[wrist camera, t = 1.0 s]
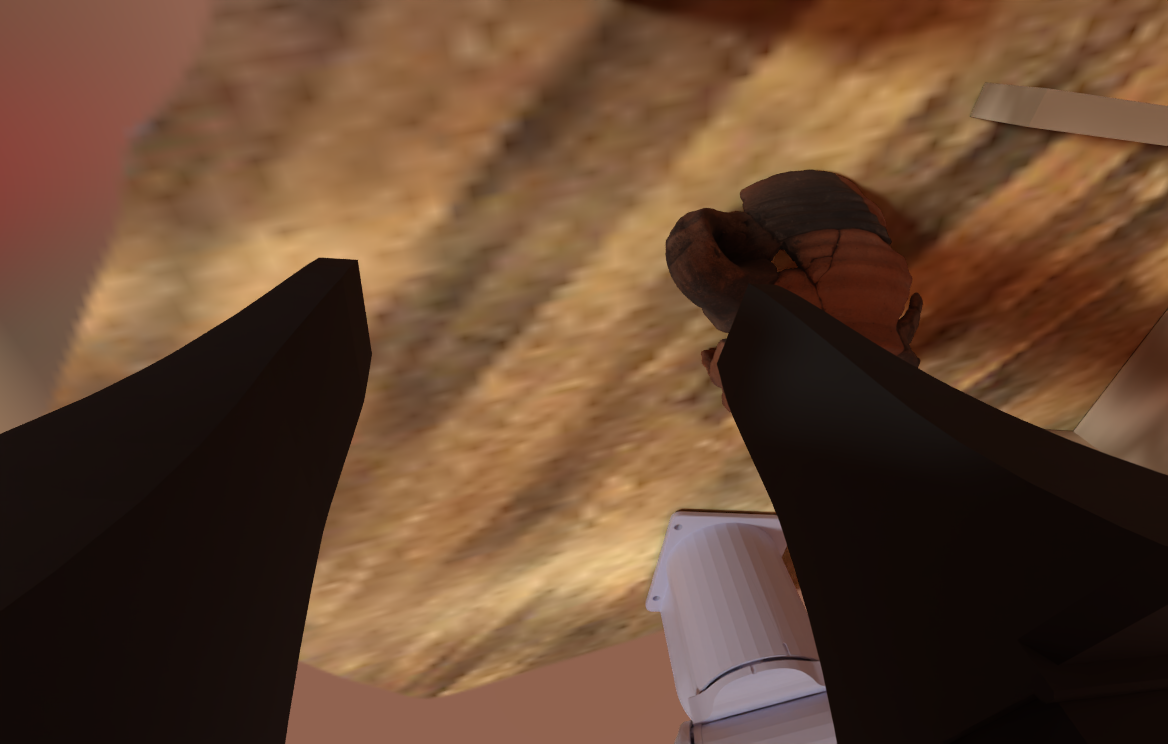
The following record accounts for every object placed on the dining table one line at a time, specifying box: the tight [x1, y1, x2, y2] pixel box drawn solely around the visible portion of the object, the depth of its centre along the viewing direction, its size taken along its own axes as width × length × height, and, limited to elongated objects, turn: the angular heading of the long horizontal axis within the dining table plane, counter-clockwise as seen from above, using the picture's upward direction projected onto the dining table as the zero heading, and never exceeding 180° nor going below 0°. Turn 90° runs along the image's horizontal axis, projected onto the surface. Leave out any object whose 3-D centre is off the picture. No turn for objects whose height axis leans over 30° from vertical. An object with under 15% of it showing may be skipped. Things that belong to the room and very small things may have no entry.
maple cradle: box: [970, 83, 1168, 475], centre depth 24 cm, size 17×16×5 cm
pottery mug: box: [666, 170, 923, 412], centre depth 22 cm, size 12×10×8 cm
